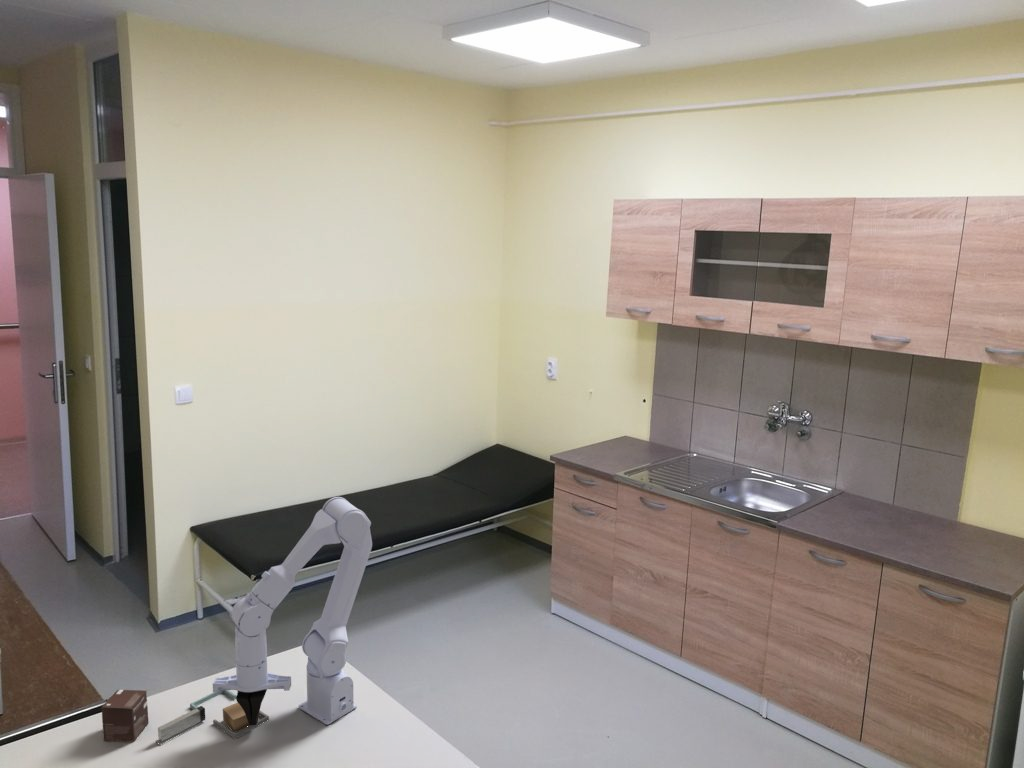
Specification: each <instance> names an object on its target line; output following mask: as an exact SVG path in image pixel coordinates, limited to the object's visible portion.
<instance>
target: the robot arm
mask: <svg viewBox="0 0 1024 768" xmlns="http://www.w3.org/2000/svg"><path fill="white" fill-rule="evenodd" d="M371 525H372V522H371V520H370V519H369V518H368V516H367V514H366V513H365V512H364V511H363V510H361V509H359V508H357V507H356V506H355V505H353V504H352V503H351V502H349V501H348V500H347V499H346V498H344V497H341V496H333V497H331V498H330V499H328V500H326V502H325V503H324V504H323V506H322V508H321V509H319V510H318V511H317V512H316V513H315V515H314V517H313V520H312V521H311V524H310V526H309V527H308V528H307V530H306V531H305V533H304V534H303V535H302V537H301V538H300V539H299V540H298V541H297V543H296V545H295V546H294V547H293V549H292V550H291V551H290V552H289V554H288V555H287V557H286V558H285V559H284V560H283V562H282V563H280V564H278V565H275V566H271V567H270V569H269V570H268V571H266V570H265V571H264V572H263V573H262V574H261V579H260V580H259V581H258V583H257V584H255V586H254V587H253V589H251V591H250V592H247V594H246V595H245V596H244V597H243V598H241V599H239V600H238V601H237V602H236V603H235V604H234V605H233V607H232V609H231V610H232V611H231V612H229V617H230V619H231V620H232V622H233V623H234V624H235V626H234V631H235V633H234V634H235V637H234V646H235V670H236V671H235V673H236V674H233V675H228V676H223V677H215V678H214V680H213V682H212V693H213V692H219V690H229V691H237V692H236V699H235V701H236V703H239V704H240V706H241V707H242V709H243V710H244V712H245V714H246V717H247V720H248V723H249V725H256V724H257V722H258V721H259V718H260V716H259V711H261V706H262V702H263V700H264V698H265V696H266V693H267V691H268V690H283V691H285V692H286V691H288V692H289V691H290V689H291V687H292V676H290V675H289V676H288V675H280V674H274V673H270V672H268V652H267V651H268V650H267V648H268V647H267V633H266V630H267V629H268V628H269V627H270V624H271V618H272V615H273V613H274V611H275V610H276V608H278V606H279V604H281V602H282V601H283V600H284V599H285V598H286V596H288V594H289V592H291V591H292V589H293V588H294V586H295V584H296V582H295V581H296V579H295V577H296V575H297V574H298V573H299V572H300V571H301V570H302V569H303V568H304V567H305V566H306V564H308V562H309V561H310V560H311V559H312V558H313V557H314V556H315V554H317V552H319V551H320V549H321V548H322V547H323V546H325V545H336V544H340V543H342V544H343V549H342V551H341V552H342V553H341V555H340V559H339V561H338V564H337V568H336V570H335V571H336V572H335V574H334V576H333V580H332V583H331V587H330V589H329V592H328V595H327V598H326V600H325V605H324V608H323V610H322V614H321V617H320V618H319V619H317V620H315V621H314V622H313V624H312V626H311V628H310V631H309V632H308V633H306V635H305V637H304V638H303V640H302V643H301V644H302V645H301V648H302V649H301V650H302V652H303V653H304V654H305V656H307V664H306V699H307V700H305V701H303V702H301V703H300V704H298V709H300V710H301V711H303V712H305V713H306V714H308V715H310V716H311V717H314V718H315V719H316V720H318V721H320V722H321V723H323V724H324V725H330V724H332V723H334V722H335V721H337V720H338V719H340V718H341V717H343V716H345V715H347V714H348V713H350V712H351V711H353V710H355V709H356V708H357V706H358V705H357V704H356V703H355V702H354V681H353V679H352V678H351V676H349V675H348V674H347V672H346V671H345V670H344V667H345V665H346V664H347V661H348V660H347V659H348V655H347V648H348V646H349V645H348V644H349V639H348V638H349V637H348V632H347V624H348V621H349V618H350V614H351V612H352V610H353V609H352V608H353V606H354V602H355V600H356V596H357V594H358V590H359V588H360V585H361V581H362V578H363V575H364V572H365V571H366V570H365V569H366V568H367V567H366V566H367V564H368V560H369V558H370V555H371V551H372V548H373V540H372V539H373V538H372V534H371V528H370V527H371Z"/></svg>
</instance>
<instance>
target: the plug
mask: <svg viewBox="0 0 1024 768" xmlns="http://www.w3.org/2000/svg"><path fill="white" fill-rule="evenodd" d="M222 719H223V720H222V721H223V723H225V724H226V726H227V725H228V726H229V727H230V728H231V729H232V730H231V729H230V728H229V727H228V726H227V727H228V728H229V729H230V730H231V731H232V732H235V733H237V732H239V731H241V729H244V728H246V727H247V726H250V725H249V723H248V720H247V717H246V714H245V712H244V710H243V709H242V707H241V706H240V704H239V703H238V702H235V703H234V704H230V705H228V706H226V707H223V708H222Z"/></svg>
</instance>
